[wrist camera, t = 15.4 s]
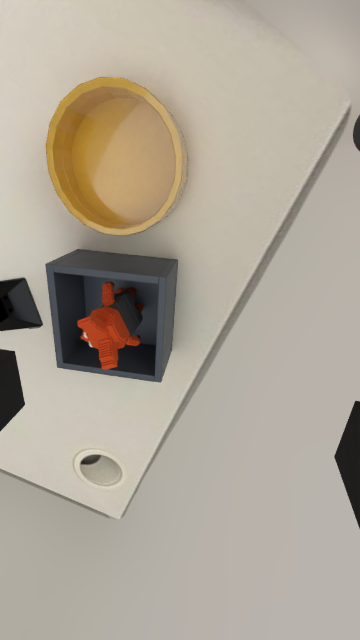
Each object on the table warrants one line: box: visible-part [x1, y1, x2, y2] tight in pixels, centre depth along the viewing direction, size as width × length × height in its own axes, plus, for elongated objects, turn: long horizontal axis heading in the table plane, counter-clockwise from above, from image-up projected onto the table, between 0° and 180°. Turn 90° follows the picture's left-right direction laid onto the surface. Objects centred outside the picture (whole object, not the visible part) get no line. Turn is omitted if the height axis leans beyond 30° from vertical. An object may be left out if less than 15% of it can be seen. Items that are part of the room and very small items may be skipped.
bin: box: [46, 249, 178, 382], centre depth 37 cm, size 13×13×8 cm
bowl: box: [46, 77, 188, 236], centre depth 32 cm, size 13×13×4 cm
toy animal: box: [77, 281, 144, 370], centre depth 35 cm, size 8×6×12 cm
